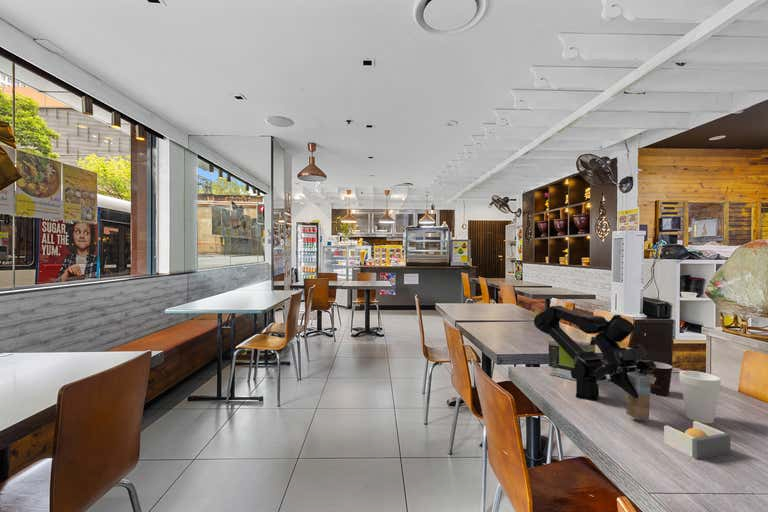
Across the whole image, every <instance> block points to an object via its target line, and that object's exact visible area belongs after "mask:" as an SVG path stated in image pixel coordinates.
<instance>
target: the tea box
mask: <svg viewBox="0 0 768 512" xmlns="http://www.w3.org/2000/svg"><path fill="white" fill-rule="evenodd" d="M571 339H572V340H573V341H574V342H575V343H576V344H577V345H578V346H579V347H580V348H581V349H582V350H583V351H585V352H591V351H593V352H594V353H595V354H596V345H590V341H591V340H584V339H578V338H577V339H575V338H571ZM547 343H548V374H549V375H551V376H554V375H555V377H559V376H560V378H563V377H564V378H563V379H568V380H569V379H570V380H573V381H576V379H574V378H572V376H571V371H572V370H573V369H574V368H575V367H574V362H573V359H572V358H571V357H570V356H569V355H568V354H567V353H566V352H565V351H564V350H563V349H562V347H561V346H560V345H559V344H558V343H557V342H556V341H555V340H554V339H553V338H551V339H548V342H547Z"/></svg>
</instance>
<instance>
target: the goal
mask: <svg viewBox="0 0 768 512" xmlns="http://www.w3.org/2000/svg"><path fill="white" fill-rule="evenodd" d="M692 426H693V427H692V428H697V429H700V430H702V431H703V432H705V433H706V434H707V436H705V437H699V438H694V437H692V436H690V435H687V434H685V432H682V431H681V430H678V429H675V428H673V427H671V426H669V425H664V426H663V439H664V441H663V443H664V444H665V445H667V446H669V447H671V448H673V449H676V450H677V451H679V452H681V453H683V454H685V455H687V456H690V457H691V458H694V459H696V460H700V459H705V458H711V457H712V458H713V457H715V456H722V455H728V454H731V434H729V433H726V432H724V431H721V430H719V429H716V428H715V427H711V426H709V425H707V424H705V423H701V422H697V421H694V420H693V422H692Z"/></svg>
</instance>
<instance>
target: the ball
mask: <svg viewBox="0 0 768 512" xmlns="http://www.w3.org/2000/svg"><path fill="white" fill-rule="evenodd" d="M684 433H685V434H687V435H690V436H692V437H694V438H699V437H705V436H707V434H706V433H705V432H703V431H702V430H700V429H697V428H693V427H690V428H688V429H686V430H685V432H684Z"/></svg>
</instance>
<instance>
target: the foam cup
mask: <svg viewBox="0 0 768 512" xmlns="http://www.w3.org/2000/svg"><path fill="white" fill-rule="evenodd" d="M679 382H680V385H681V392H682V397H683V403H684V410H685V415H686V417H687V419H689V420H692V421H693V422H694V421H697V422H699V423H702V424H713V423H714V421H715V416H716V411H717V406H718V405H717V404H718V399H719V392H720V388H721V387H722V386H721V377H719V376H717V375H715V374H713V373H712V374H710V373H708V372H703V371H702V372H701V371H697V370H696V371H695V370H681V371H679Z"/></svg>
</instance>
